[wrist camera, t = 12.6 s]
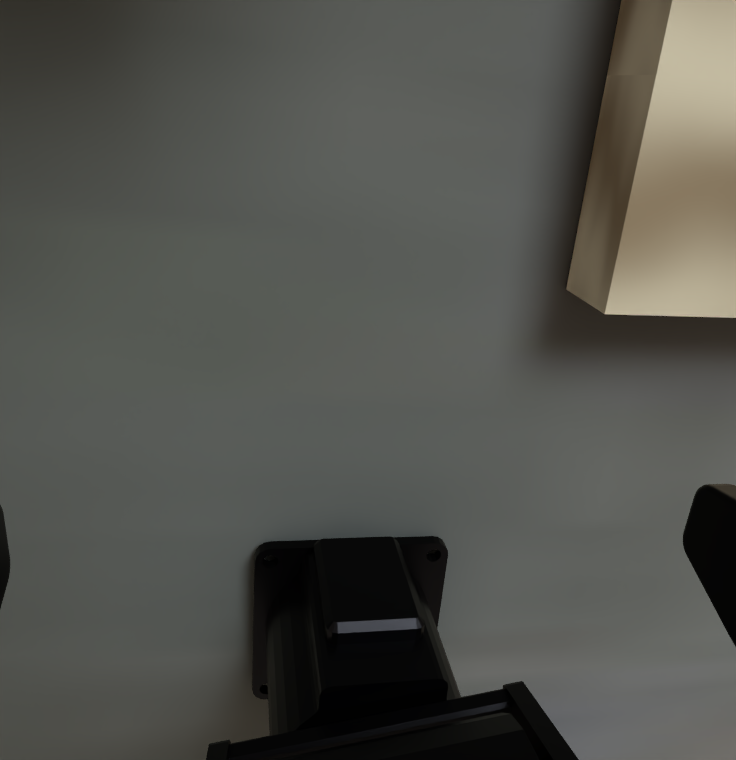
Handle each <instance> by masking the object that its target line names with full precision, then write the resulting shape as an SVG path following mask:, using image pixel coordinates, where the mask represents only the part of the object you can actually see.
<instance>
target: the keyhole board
mask: <svg viewBox="0 0 736 760" xmlns="http://www.w3.org/2000/svg"><path fill="white" fill-rule="evenodd" d="M566 290H568V291H569V292H571V293H573V294H574V295H576V296H577V297H579V298H580V299H582V300H583V301H585V302H586V303H588V304H590V305H591V306H593V307H594V308H596V309H597V310H599V311H600V312H602V313H603V314H613V315H650V316H687V317H723V318H736V0H621V5H620V10H619V16H618V21H617V26H616V31H615V36H614V42H613V47H612V52H611V57H610V63H609V68H608V73H607V78H606V84H605V89H604V94H603V99H602V104H601V110H600V115H599V120H598V125H597V131H596V136H595V141H594V146H593V152H592V157H591V162H590V167H589V172H588V178H587V183H586V188H585V193H584V199H583V204H582V209H581V214H580V220H579V225H578V230H577V235H576V240H575V246H574V251H573V256H572V261H571V267H570V272H569V277H568V282H567V288H566Z"/></svg>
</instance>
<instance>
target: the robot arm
mask: <svg viewBox="0 0 736 760" xmlns="http://www.w3.org/2000/svg"><path fill="white" fill-rule="evenodd" d="M683 546H684V550H685V552H686V555H687V557H688V558H689V560H690V562H691V564H692V566H693V568H694V570H695V572H696V574H697V575H698V577H699V579H700V581H701V583H702V585H703V587H704V589H705V591H706V593H707V594H708V596H709V598H710V600H711V602H712V604H713V606H714V608H715V610H716V611H717V613H718V615H719V617H720V619H721V621H722V623H723V625H724V627H725V628H726V630H727V632H728V634H729V636H730V638H731V639H732V641H733V643H734V645H735V646H736V486H735V485H731V484H708V485H703V486H702V487H700V488H699V489H698V490H697V492H696V494H695V496H694V499H693V503H692V506H691V509H690V513H689V516H688V519H687V523H686V526H685V529H684V533H683ZM433 549H436V550H437V551H436V552H435V553H434V554H427V553H428V552H429V551H430V550H433ZM269 555H272V556H275V557H276V558H275V559H274V560H270V561H269V560H265V559H264V558H265V557H266V556H269ZM447 558H448V550H447V548H446V546H445V543H444V542H443V540H442V539H440V538H439V537H434V536H425V537H395V538H393V537H365V538H334V539H321V540H304V541H273V542H266V543H263V544H261V545H260V546H259V547H258V548H257V549H256V551H255V562H254V617H253V672H252V690H253V694H254V695H255V696H256V697H258V698H260V699H268V704H269V730H270V736H266V737H261V738H256V739H251V740H246V741H241V742H236V743H231V742H230V740H226V741H221V742H216V743H211V744H209V747H208V752H207V758H206V760H578V758H577V757H576V755H575V754H574V753H573V751H572V750H571V748H570V747H569V746H568V744H567V743H566V741H565V740H564V739H563V737H562V736H561V734H560V733H559V732H558V730H557V729H556V727H555V726H554V725H553V723H552V722H551V720H550V719H549V718H548V716H547V715H546V713H545V712H544V711H543V709H542V708H541V706H540V705H539V704H538V702H537V701H536V699H535V698H534V697H533V695H532V694H531V692H530V691H529V690H528V688H527V687H526V685H525V684H524V683H523V682H522V681H520V682H515V683H510V684H505V685H503V689H500V690H495V691H490V692H485V693H480V694H475V695H470V696H465V697H461V695H460V693H459V690H458V687H457V684H456V681H455V678H454V676H453V673H452V670H451V667H450V664H449V661H448V659H447V656H446V653H445V650H444V647H443V644H442V641H441V639H440V636H439V633H438V630H437V626H438V619H439V612H440V606H441V599H442V592H443V585H444V578H445V571H446V565H447ZM9 573H10V555H9V548H8V541H7V534H6V528H5V521H4V514H3V510H2V507H1V505H0V608H1V605H2V601H3V597H4V594H5V590H6V587H7V583H8V579H9ZM266 683H268V685H263V684H266Z"/></svg>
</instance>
